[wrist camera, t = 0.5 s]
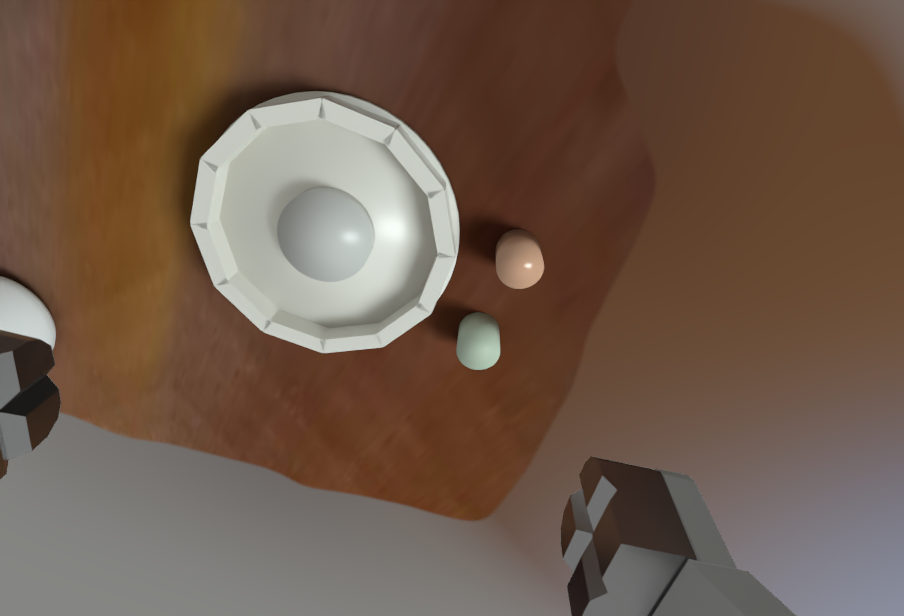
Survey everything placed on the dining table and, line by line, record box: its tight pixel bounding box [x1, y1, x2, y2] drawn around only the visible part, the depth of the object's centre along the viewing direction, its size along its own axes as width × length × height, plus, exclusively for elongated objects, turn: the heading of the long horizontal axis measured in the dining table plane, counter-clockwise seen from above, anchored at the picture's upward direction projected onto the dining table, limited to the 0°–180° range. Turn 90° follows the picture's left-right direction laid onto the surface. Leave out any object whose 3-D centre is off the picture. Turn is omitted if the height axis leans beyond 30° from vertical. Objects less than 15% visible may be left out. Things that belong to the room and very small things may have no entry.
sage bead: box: [457, 312, 500, 370], centre depth 55 cm, size 4×4×4 cm
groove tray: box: [190, 91, 460, 353], centre depth 51 cm, size 26×26×4 cm
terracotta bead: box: [495, 229, 544, 289], centre depth 50 cm, size 4×4×4 cm
